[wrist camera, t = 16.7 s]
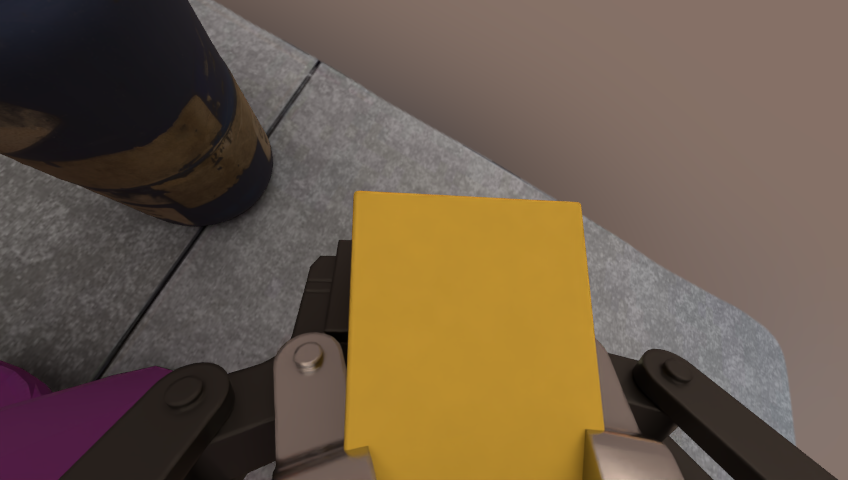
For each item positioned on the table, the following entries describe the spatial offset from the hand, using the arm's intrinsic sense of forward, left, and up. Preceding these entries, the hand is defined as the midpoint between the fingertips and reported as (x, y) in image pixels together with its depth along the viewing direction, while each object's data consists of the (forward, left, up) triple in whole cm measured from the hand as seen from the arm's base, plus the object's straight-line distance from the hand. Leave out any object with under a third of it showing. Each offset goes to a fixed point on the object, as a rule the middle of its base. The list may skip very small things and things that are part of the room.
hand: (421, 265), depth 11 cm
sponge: (+1, -2, -5) cm, 5 cm away
